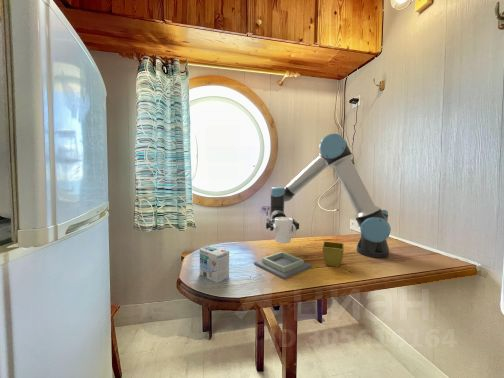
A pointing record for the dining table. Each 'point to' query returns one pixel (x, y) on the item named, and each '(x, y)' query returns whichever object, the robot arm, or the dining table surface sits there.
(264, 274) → the dining table surface
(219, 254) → the light bulb box
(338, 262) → the flower pot
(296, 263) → the holder tray
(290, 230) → the white cup
